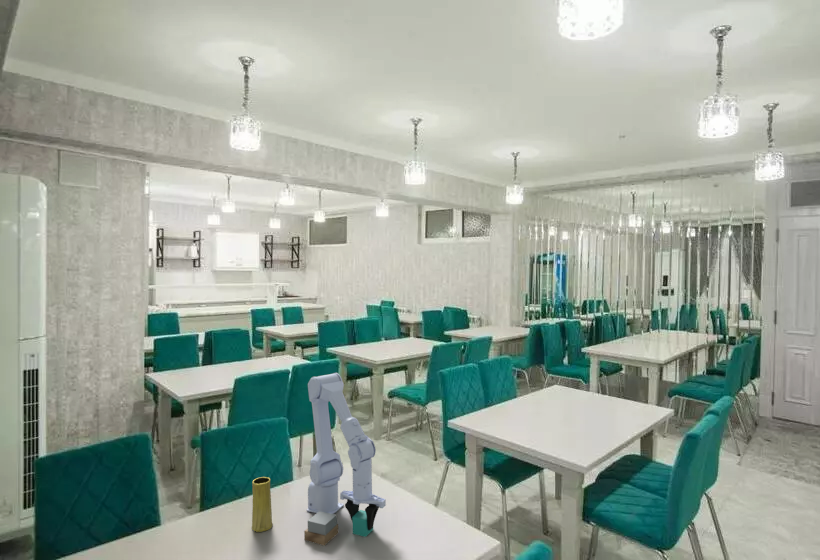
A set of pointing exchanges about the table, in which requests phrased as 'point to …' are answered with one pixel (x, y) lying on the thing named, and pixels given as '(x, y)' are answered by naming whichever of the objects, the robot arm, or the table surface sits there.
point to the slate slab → (322, 523)
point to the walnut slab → (320, 536)
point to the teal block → (360, 524)
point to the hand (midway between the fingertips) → (363, 526)
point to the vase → (261, 505)
